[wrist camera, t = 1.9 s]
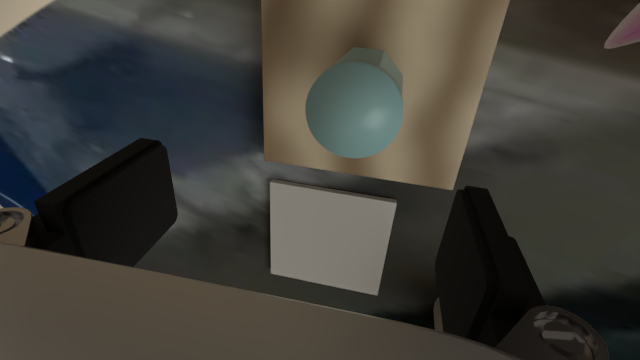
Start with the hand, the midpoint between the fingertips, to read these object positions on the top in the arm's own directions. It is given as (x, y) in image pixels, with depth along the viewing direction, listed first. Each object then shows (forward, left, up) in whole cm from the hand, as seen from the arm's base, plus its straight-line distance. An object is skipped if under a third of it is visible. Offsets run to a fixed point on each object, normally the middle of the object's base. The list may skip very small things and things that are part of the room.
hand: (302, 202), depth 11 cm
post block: (0, 0, -19) cm, 19 cm away
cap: (0, 0, -15) cm, 15 cm away
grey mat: (+2, +17, -19) cm, 25 cm away
